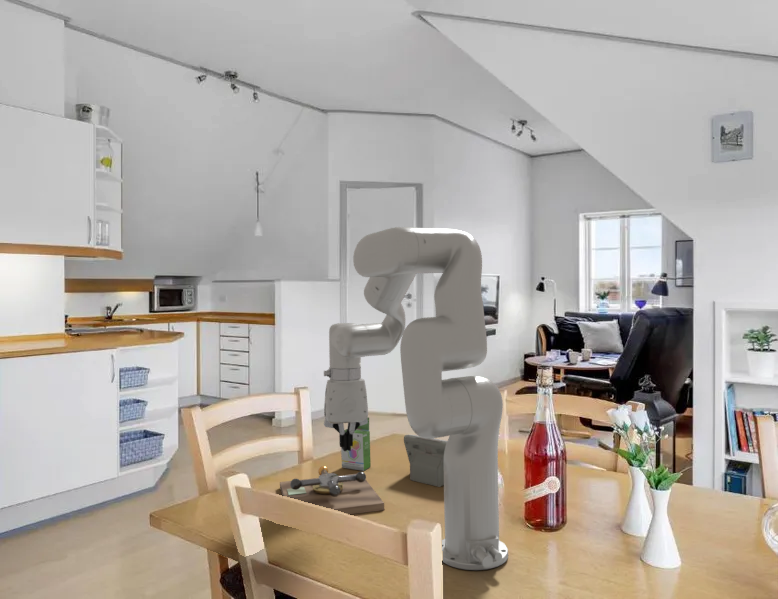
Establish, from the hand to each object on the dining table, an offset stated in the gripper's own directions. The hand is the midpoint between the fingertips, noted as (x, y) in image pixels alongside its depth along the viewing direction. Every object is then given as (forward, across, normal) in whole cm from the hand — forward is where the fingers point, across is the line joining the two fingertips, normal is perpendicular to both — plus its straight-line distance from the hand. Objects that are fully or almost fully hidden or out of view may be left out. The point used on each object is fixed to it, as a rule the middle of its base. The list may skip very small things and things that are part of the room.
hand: (346, 449), depth 147 cm
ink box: (+9, +5, +13) cm, 17 cm away
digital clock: (+9, +22, -3) cm, 23 cm away
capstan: (+7, -6, -8) cm, 12 cm away
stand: (+8, -6, -8) cm, 13 cm away
